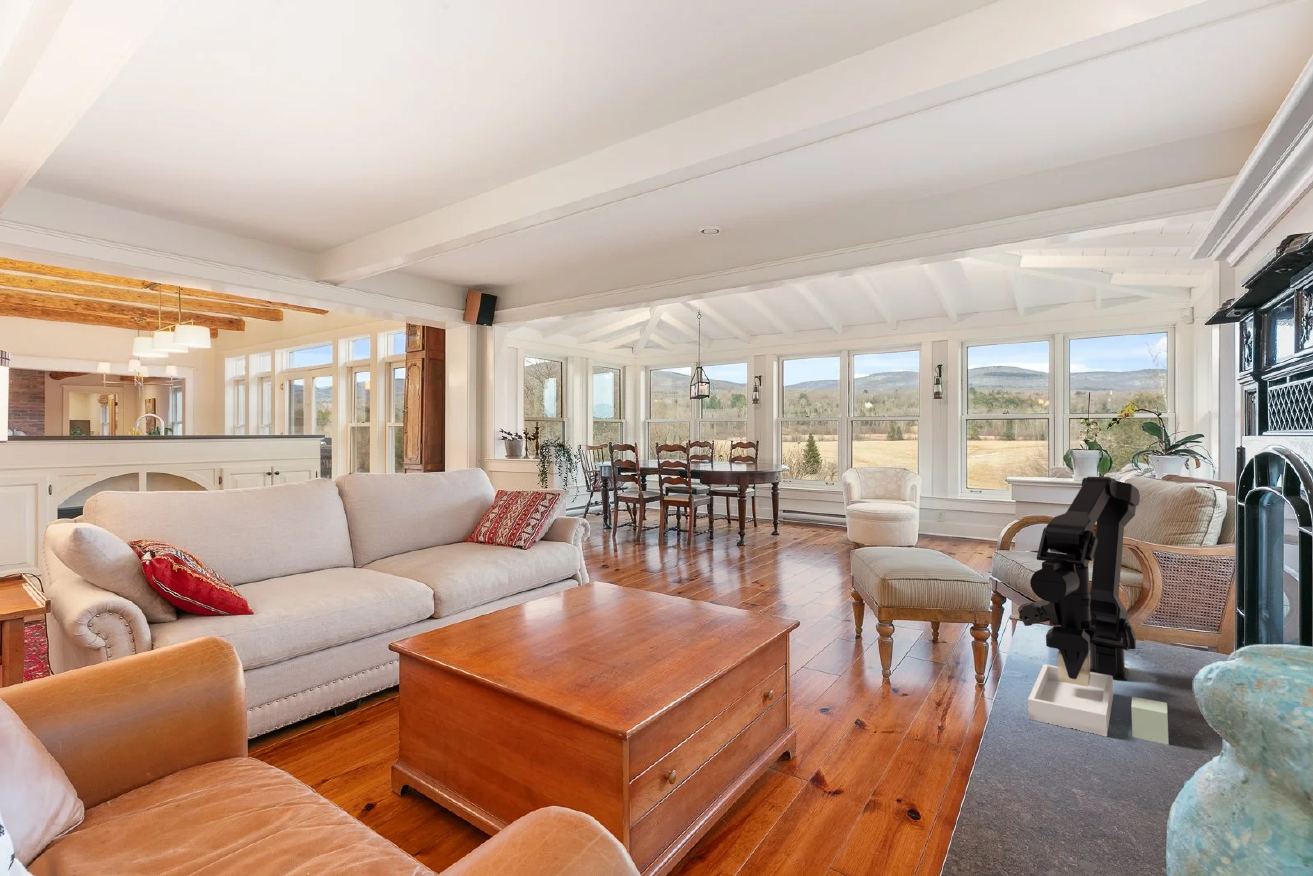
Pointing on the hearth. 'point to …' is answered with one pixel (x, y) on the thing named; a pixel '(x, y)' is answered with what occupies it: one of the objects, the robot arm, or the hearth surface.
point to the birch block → (1082, 677)
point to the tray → (1072, 701)
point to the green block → (1149, 720)
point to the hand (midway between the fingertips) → (1074, 674)
